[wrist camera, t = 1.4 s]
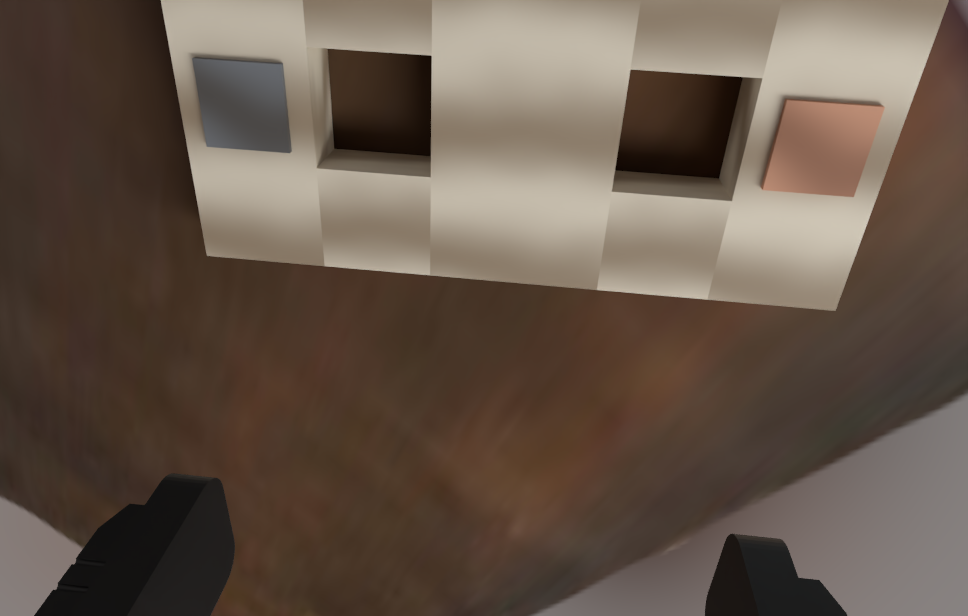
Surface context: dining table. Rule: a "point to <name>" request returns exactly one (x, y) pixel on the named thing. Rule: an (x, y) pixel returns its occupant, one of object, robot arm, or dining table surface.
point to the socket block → (552, 139)
